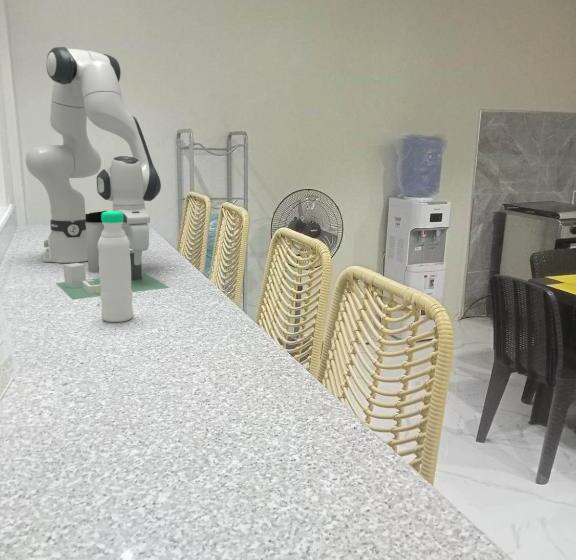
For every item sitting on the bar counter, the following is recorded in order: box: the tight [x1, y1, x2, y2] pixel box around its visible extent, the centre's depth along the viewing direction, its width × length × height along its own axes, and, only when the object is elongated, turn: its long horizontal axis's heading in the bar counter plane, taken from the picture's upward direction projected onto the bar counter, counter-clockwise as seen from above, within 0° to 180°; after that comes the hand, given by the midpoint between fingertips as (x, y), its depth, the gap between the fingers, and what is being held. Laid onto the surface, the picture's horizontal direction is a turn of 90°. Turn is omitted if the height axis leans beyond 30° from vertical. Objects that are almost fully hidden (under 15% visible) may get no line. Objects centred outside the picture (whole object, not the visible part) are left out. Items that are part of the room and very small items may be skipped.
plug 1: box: [63, 262, 87, 288], centre depth 157 cm, size 5×4×6 cm
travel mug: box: [85, 210, 107, 274], centre depth 175 cm, size 6×7×20 cm
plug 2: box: [129, 249, 143, 281], centre depth 166 cm, size 5×5×8 cm
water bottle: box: [98, 210, 134, 323], centre depth 130 cm, size 7×7×25 cm
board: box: [55, 273, 171, 300], centre depth 159 cm, size 20×26×3 cm
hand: (131, 262), depth 166 cm, fingers open, 8 cm apart
